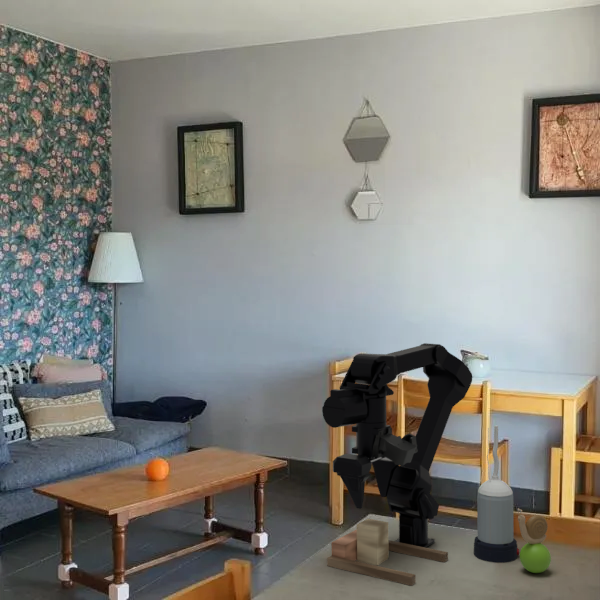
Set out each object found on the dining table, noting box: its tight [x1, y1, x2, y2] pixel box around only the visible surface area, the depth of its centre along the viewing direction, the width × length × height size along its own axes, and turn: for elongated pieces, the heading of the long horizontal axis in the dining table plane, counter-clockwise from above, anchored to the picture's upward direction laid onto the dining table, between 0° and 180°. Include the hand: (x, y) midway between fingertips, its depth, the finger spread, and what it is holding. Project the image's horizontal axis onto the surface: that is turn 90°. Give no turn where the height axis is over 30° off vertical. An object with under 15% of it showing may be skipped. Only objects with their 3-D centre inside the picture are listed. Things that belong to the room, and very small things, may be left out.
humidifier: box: [473, 425, 520, 564], centre depth 155 cm, size 8×8×25 cm
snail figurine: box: [516, 508, 552, 574], centre depth 146 cm, size 5×6×12 cm
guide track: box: [326, 528, 449, 586], centre depth 152 cm, size 15×18×4 cm
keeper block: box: [356, 518, 390, 566], centre depth 153 cm, size 4×4×7 cm
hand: (371, 502), depth 153 cm, fingers open, 9 cm apart
